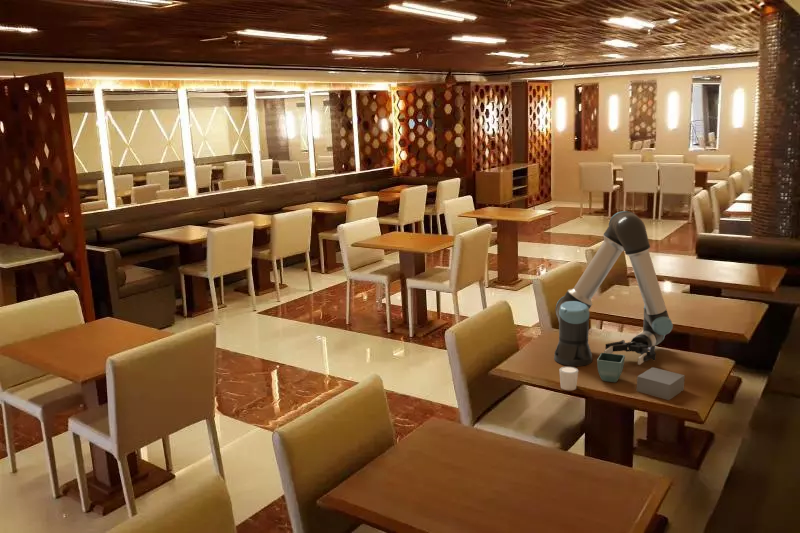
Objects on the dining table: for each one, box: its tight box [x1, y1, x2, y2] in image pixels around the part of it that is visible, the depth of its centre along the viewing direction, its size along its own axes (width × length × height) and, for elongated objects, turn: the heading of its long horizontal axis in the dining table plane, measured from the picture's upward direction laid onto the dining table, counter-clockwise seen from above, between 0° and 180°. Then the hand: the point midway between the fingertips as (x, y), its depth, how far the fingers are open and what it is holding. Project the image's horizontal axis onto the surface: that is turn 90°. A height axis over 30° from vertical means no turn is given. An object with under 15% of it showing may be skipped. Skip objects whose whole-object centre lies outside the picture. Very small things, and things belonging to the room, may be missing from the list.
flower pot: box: [596, 352, 626, 383], centre depth 253 cm, size 9×9×9 cm
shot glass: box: [558, 366, 579, 391], centre depth 247 cm, size 7×7×7 cm
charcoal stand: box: [636, 366, 685, 401], centre depth 242 cm, size 12×12×6 cm
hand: (621, 357), depth 259 cm, fingers open, 13 cm apart
